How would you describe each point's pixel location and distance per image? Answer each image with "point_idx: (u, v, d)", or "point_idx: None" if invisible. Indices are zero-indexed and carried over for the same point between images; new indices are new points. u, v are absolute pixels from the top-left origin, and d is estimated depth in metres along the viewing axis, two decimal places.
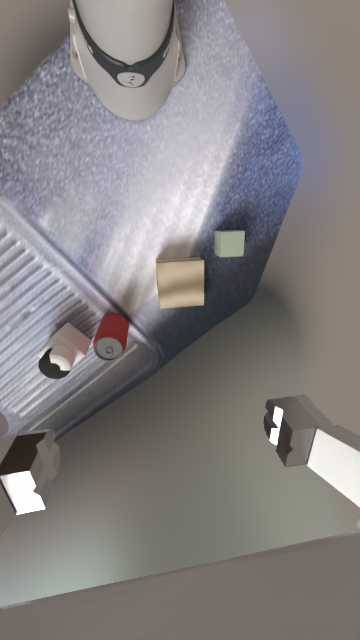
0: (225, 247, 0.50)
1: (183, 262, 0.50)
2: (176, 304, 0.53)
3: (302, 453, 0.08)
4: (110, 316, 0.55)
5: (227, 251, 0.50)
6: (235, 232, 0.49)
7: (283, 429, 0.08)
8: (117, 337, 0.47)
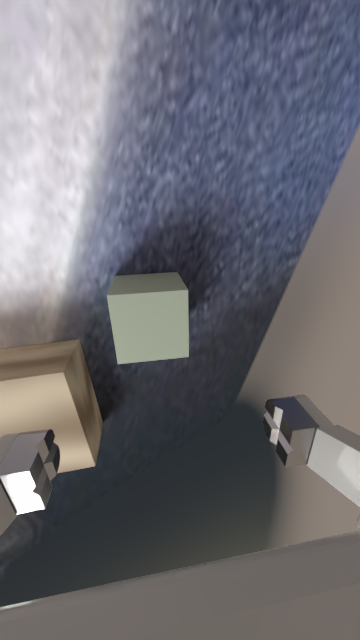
0: (129, 338, 0.16)
1: None
2: None
3: (302, 453, 0.08)
4: None
5: (137, 348, 0.16)
6: (156, 295, 0.15)
7: (282, 429, 0.08)
8: None
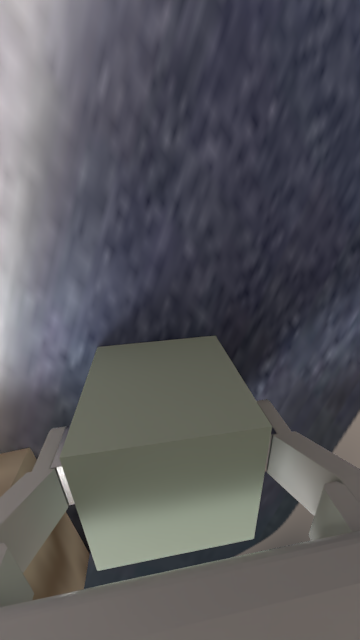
0: (122, 528, 0.07)
1: None
2: None
3: None
4: None
5: (142, 541, 0.07)
6: (191, 443, 0.06)
7: None
8: None
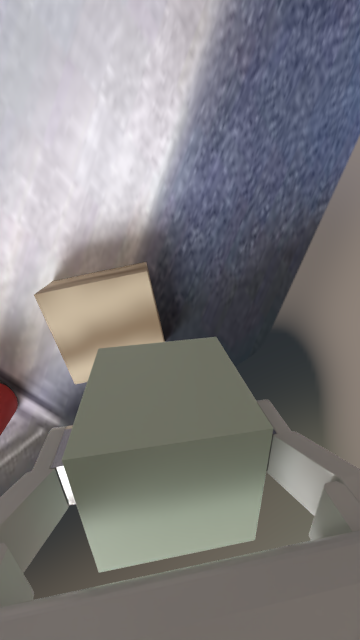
0: (124, 530, 0.07)
1: (98, 283, 0.21)
2: None
3: None
4: None
5: (143, 543, 0.07)
6: (193, 445, 0.06)
7: None
8: None
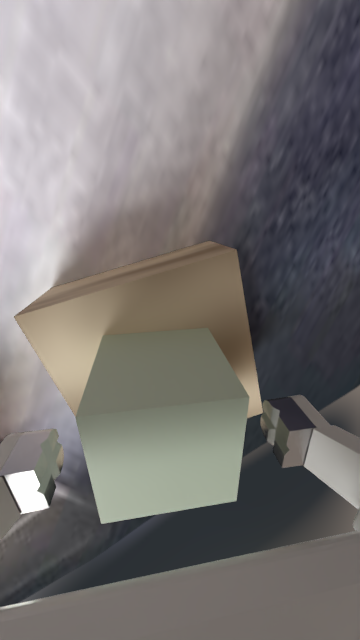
0: (124, 484, 0.08)
1: (141, 282, 0.10)
2: None
3: (299, 453, 0.08)
4: None
5: (140, 497, 0.08)
6: (183, 409, 0.07)
7: (279, 429, 0.08)
8: None
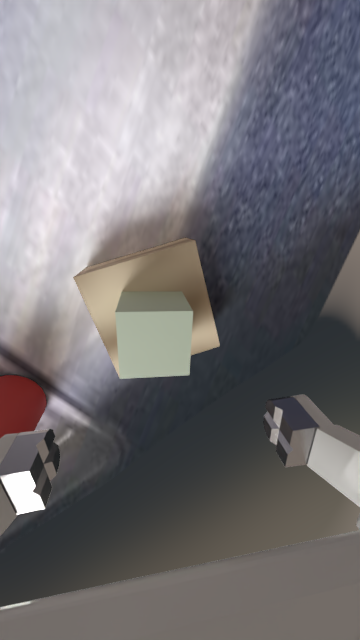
0: (133, 354, 0.16)
1: (142, 258, 0.19)
2: None
3: (302, 453, 0.08)
4: None
5: (140, 364, 0.17)
6: (162, 314, 0.16)
7: (282, 429, 0.08)
8: None
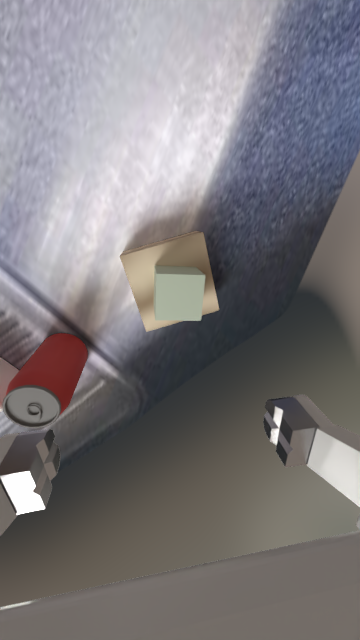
0: (165, 303, 0.25)
1: (167, 244, 0.28)
2: None
3: (302, 453, 0.08)
4: (52, 339, 0.32)
5: (169, 310, 0.25)
6: (186, 276, 0.24)
7: (282, 428, 0.08)
8: (49, 384, 0.25)
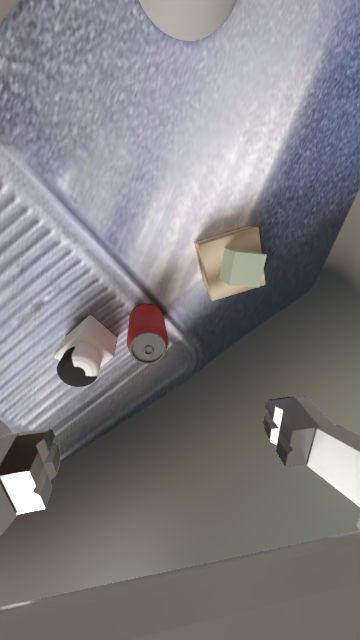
0: (237, 273, 0.36)
1: (232, 236, 0.39)
2: (231, 291, 0.43)
3: (302, 453, 0.08)
4: (143, 307, 0.44)
5: (239, 278, 0.37)
6: (253, 255, 0.35)
7: (282, 429, 0.08)
8: (159, 332, 0.37)
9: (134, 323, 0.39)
